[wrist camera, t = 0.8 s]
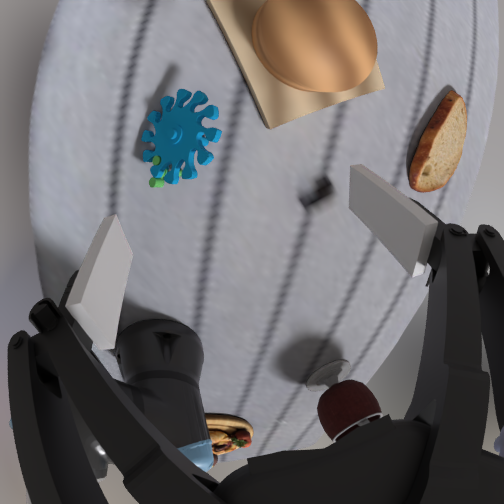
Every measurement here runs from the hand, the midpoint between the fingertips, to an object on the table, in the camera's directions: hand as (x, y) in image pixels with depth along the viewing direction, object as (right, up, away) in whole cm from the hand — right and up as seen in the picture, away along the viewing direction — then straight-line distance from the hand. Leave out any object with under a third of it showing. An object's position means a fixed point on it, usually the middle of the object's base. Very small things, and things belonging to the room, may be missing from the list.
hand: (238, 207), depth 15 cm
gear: (-8, +11, +14) cm, 20 cm away
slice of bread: (+33, +18, +24) cm, 45 cm away
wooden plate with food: (-15, -55, +52) cm, 77 cm away
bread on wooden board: (+7, +23, +11) cm, 27 cm away
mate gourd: (+20, -33, +49) cm, 62 cm away
